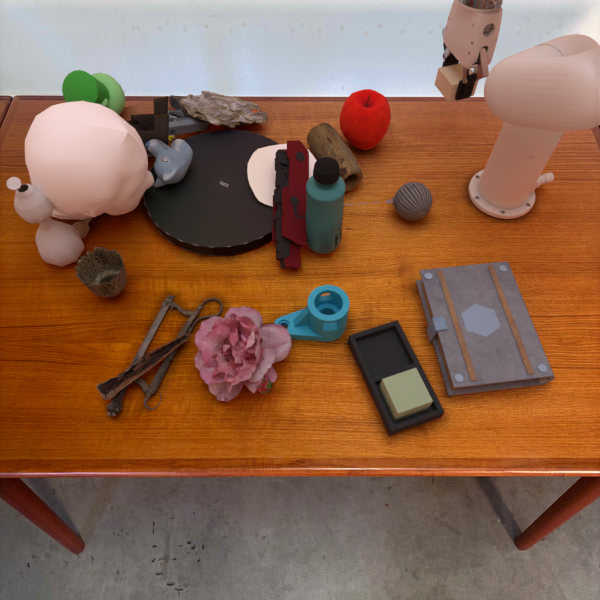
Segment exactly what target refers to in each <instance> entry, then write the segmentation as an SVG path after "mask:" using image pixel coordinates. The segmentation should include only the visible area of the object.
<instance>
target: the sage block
mask: <svg viewBox="0 0 600 600" xmlns="http://www.w3.org/2000/svg"><path fill="white" fill-rule="evenodd" d="M379 389H380V391H381V394H382V396H383V398H384V400H385V402H386V405H387V407H388V409H389V411H390V413H391V416H392V418H393V420H394V421H396V420H399V419H402V418H405V417H408V416H411V415H413V414H416V413H419V412H422V411H425V410H427V409H428V408H429V407H430V405H431V404H432V402H433V400H432V398H431V396H430V394H429V392H428V390H427V388H426V386H425V384H424V382H423V380H422V378H421V376H420V374H419V372H418V370H417V368H413V369H410V370H407V371H404V372H401V373H398V374H396V375H393V376H390V377H387V378H384V379H382V381H381V384H380V386H379Z"/></svg>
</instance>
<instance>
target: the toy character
mask: <svg viewBox="0 0 600 600" xmlns="http://www.w3.org/2000/svg"><path fill="white" fill-rule="evenodd" d="M61 92H62V97H63V99H64V102H65V103H66V102H75V101H86V102H91V103H96V104H100V105H102V106H105V107H107V108H109V109H111V110H113V111H114V112H116V113H117V114H118V115H119V116H120V115H121V114H122V113H123V111H124V109H125V105H126V95H125V92H124V89H123V87H122V86H121V84H120V83H119V82H118V81H117V79H115V78H114V77H112V76H111V75H110V74H108V73H107V74H106V73H103V72H96V73H91V74H90V73H89V72H87V71H86V70H81V69H76V70H72V71H71V72H69V73H68V74H66V76H65V77H64V79H63V81H62V85H61Z"/></svg>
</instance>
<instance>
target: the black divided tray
mask: <svg viewBox="0 0 600 600" xmlns="http://www.w3.org/2000/svg"><path fill="white" fill-rule="evenodd" d="M347 345H348V347H349V349H350V352H351V354H352V356H353V358H354V360H355V362H356V365H357V367H358V370H359V372H360V374H361V376H362V378H363V381H364V383H365V385H366V388H367V391H368V392H369V395H370V396H371V399H372V401H373V403H374V406H375V408H376V410H377V413H378V415H379V417H380V419H381V422H382V424H383V427H384V428H385V430H386V433H387V435H388V437H391V436H394V435H396V434H399V433H402V432H405V431H407V430H411V429H414V428H416V427H418V426H421V425H425V424H427V423H430V422H433V421H435V420H439V419H440V418H442V417H443V415H444V414H445V412H446V411H445V410H444V408H443V406H442V404H441V402H440V400H439V398H438V396H437V394H436V393H435V390H434V388H433V386H432V384H431V383H430V380H429V378H428V377H427V375H426V373H425V371H424V369H423V367H422V364H421V363H420V361H419V359H418V357H417V355H416V353H415V351H414V349H413V347H412V345H411V343H410V341H409V340H408V337H407V335H406V334H405V332H404V330H403V328H402V326H401V323H400V322H399V320H398V319H397V320H393V321H390V322H387V323H384V324H380V325H377V326H374V327H371V328H368V329H364V330H361V331H359V332H355V333H352V334H349V335H348V337H347ZM413 368H417V370H418V372H419V374H420V376H421V378H422V380H423V382H424V384H425V386H426V388H427V390H428V392H429V394H430V396H431V398H432V400H433V402H432V404H431V405H430V407H429V408H428V409H427V410H425V411H422V412H419V413H416V414H413V415H411V416H408V417H405V418H402V419H399V420H396V421H394V420H393V418H392V416H391V413H390V411H389V409H388V407H387V405H386V402H385V400H384V398H383V396H382V394H381V391H380V389H379V386H380V384H381V381H382V379H384V378H387V377H390V376H393V375H396V374H398V373H401V372H404V371H407V370H410V369H413Z"/></svg>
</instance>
